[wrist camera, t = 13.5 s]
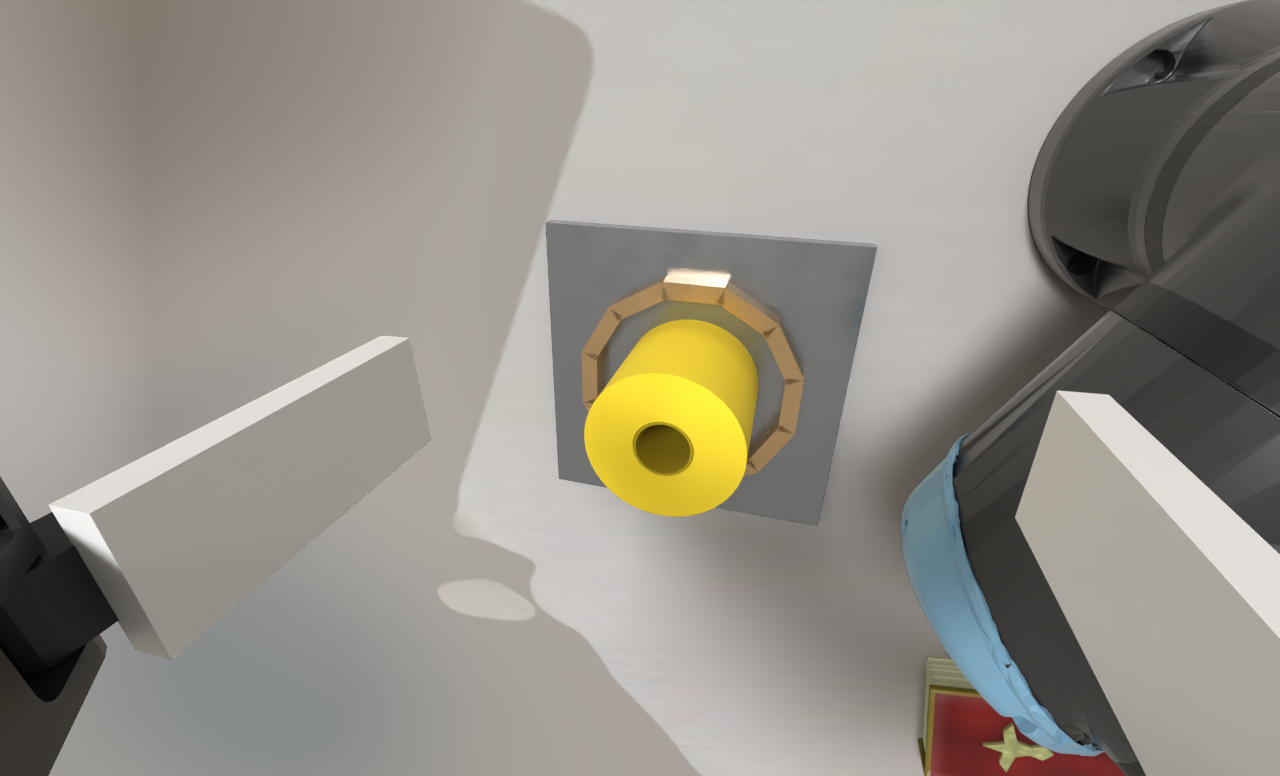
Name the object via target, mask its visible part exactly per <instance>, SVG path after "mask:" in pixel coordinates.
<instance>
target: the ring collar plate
mask: <svg viewBox="0 0 1280 776" xmlns="http://www.w3.org/2000/svg"><path fill="white" fill-rule="evenodd" d="M546 239H547V258H548V277H549V297H550V316H551V335H552V354H553V374H554V393H555V412H556V431H557V451H558V470H559V479H563V480H569V481H574V482H580V483H585V484H590V485H596V486H601V487H607V486H606V485H605V484H604V483H603V482H602V481H601V479H600V478H599V477H598V475H597V474H596V472H595V471H594V469H593V467H592V465H591V463H590V461H589V458H588V455H587V452H586V447H585V440H584V430H585V423H586V419H587V416H588V413H589V411H590V408H591V407H592V405H593V403H594V402H595V400H596V399H597V398H598V396H599V395H600V393H601V392H602V391H603V389H604V388H605V387H606V385H607V384H608V382H609V381H610V380H611V378H612V377H613V376H614V374H615V373H616V371H617V370H618V369H619V367H620V366H621V365H622V363H623V362H624V360H625V359H626V358H627V356H628V355H629V354H630V352H631V351H632V349H633V348H634V347H635V345H636V344H637V343H638V341H639V340H640V339H641V338H642V337H643V336H644V335H645V334H646V333H648V332H649V331H650V330H652V329H653V328H655V327H657V326H659V325H661V324H664V323H667V322H671V321H675V320H699V321H704V322H708V323H711V324H714V325H716V326H718V327H720V328H722V329H724V330H726V331H727V332H729V333H730V334H732V335H733V336H734V337H735V338H737V339H738V340H739V341H740V342H741V343H742V344H743V346H744V347H745V348H746V349H747V351H748V352H749V354H750V356H751V357H752V359H753V362H754V364H755V367H756V370H757V374H758V382H759V388H758V396H757V402H756V408H755V414H754V420H753V427H752V433H751V439H750V445H749V451H748V457H747V463H746V468H745V472H744V475H743V478H742V480H741V482H740V484H739V486H738V487H737V489H736V490H735V491H734V493H733V494H732V495H731V496H730V497H729V498H728V499H727V500H725V501H724V502H723V503H721V504H720V505H718V506H717V507H716V508H722V509H727V510H733V511H738V512H744V513H749V514H754V515H760V516H765V517H771V518H776V519H782V520H787V521H793V522H798V523H804V524H809V525H815V526H818V521H819V516H820V512H821V507H822V502H823V498H824V493H825V488H826V484H827V479H828V474H829V470H830V465H831V460H832V455H833V451H834V446H835V441H836V437H837V432H838V427H839V423H840V418H841V413H842V409H843V404H844V399H845V394H846V390H847V385H848V380H849V376H850V371H851V366H852V362H853V357H854V352H855V348H856V343H857V338H858V333H859V329H860V324H861V319H862V315H863V310H864V305H865V301H866V296H867V291H868V287H869V282H870V277H871V272H872V268H873V263H874V258H875V254H876V249H877V247H876V245H875V244H866V243H852V242H839V241H825V240H812V239H798V238H785V237H771V236H758V235H744V234H731V233H717V232H704V231H690V230H677V229H663V228H650V227H636V226H623V225H609V224H596V223H582V222H569V221H555V220H551V221H548V222H546ZM607 488H608V487H607Z"/></svg>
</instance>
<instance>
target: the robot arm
mask: <svg viewBox="0 0 1280 776" xmlns="http://www.w3.org/2000/svg"><path fill="white" fill-rule="evenodd" d="M1029 219H1030V226H1031V230H1032V234H1033V237H1034V240H1035V243H1036V246H1037V248H1038V250H1039V252H1040V254H1041V256H1042V257H1043V259H1044V261H1045V262H1046V263H1047V265H1048V266H1049V267H1050V269H1051V270H1052V271H1053V272H1054V273H1055V274H1056V275H1057V276H1058V277H1059V278H1060V279H1061V280H1062V281H1064V282H1065V283H1066V284H1067V285H1069V286H1070V287H1072V288H1073V289H1075V290H1076V291H1078V292H1079V293H1081V294H1083V295H1084V296H1086V297H1087V298H1089V299H1090V300H1092V301H1094V302H1096V303H1098V304H1100V305H1102V306H1105V307H1107V308H1109V309H1112V310H1113V311H1115V312H1116V313H1117V314H1116V313H1115V312H1113V311H1111V310H1110V311H1109V312H1108V313H1107V314H1105V315H1104V316H1103V317H1102V318H1101V319H1100V320H1099V321H1098V322H1096V323H1095V324H1094V325H1093V326H1092V327H1091V328H1090V329H1089V330H1087V331H1086V332H1085V333H1084V334H1083V335H1082V336H1081V337H1080V338H1078V339H1077V340H1076V341H1075V342H1074V343H1073V344H1072V345H1071V346H1070V347H1068V348H1067V349H1066V350H1065V351H1064V352H1063V353H1062V354H1061V355H1059V356H1058V357H1057V358H1056V359H1055V360H1054V361H1053V362H1052V363H1050V364H1049V365H1048V366H1047V367H1046V368H1045V369H1044V370H1043V371H1041V372H1040V373H1039V374H1038V375H1037V376H1036V377H1035V378H1034V379H1033V380H1031V381H1030V382H1029V383H1028V384H1027V385H1026V386H1025V387H1024V388H1022V389H1021V390H1020V391H1019V392H1018V393H1017V394H1016V395H1015V396H1013V397H1012V398H1011V399H1010V400H1009V401H1008V402H1007V403H1006V404H1004V405H1003V406H1002V407H1001V408H1000V409H999V410H998V411H997V412H996V413H994V414H993V415H992V416H991V417H990V418H989V419H988V420H987V421H985V422H984V423H983V424H982V425H981V426H980V427H979V428H978V429H976V430H975V431H974V432H973V433H967V434H965V435H963V436H962V437H960V438H959V439H958V440H957V441H956V442H955V443H954V444H953V445H952V447H951V449H950V451H949V453H948V455H947V457H946V458H945V459H944V460H943V461H942V462H941V463H940V464H939V465H938V466H937V467H936V468H935V469H934V470H933V471H932V472H931V473H930V474H929V475H928V476H927V477H926V478H925V479H924V480H923V481H922V482H921V483H920V484H919V485H918V486H917V487H916V488H915V489H914V490H913V492H912V493H911V494H910V496H909V498H908V500H907V502H906V504H905V506H904V509H903V513H902V521H901V532H902V536H903V540H902V552H903V557H904V561H905V565H906V569H907V572H908V575H909V578H910V581H911V584H912V587H913V589H914V592H915V594H916V596H917V599H918V601H919V603H920V605H921V608H922V610H923V611H924V613H925V615H926V617H927V619H928V621H929V623H930V625H931V626H932V628H933V630H934V632H935V633H936V635H937V637H938V638H939V640H940V642H941V643H942V645H943V647H944V648H945V650H946V651H947V653H948V654H949V656H950V657H951V659H952V660H953V661H954V663H955V664H956V665H957V667H958V668H959V670H960V671H961V672H962V674H963V675H964V676H965V677H966V679H967V680H968V681H969V682H970V684H971V685H972V686H973V687H974V688H975V690H976V691H977V692H978V693H979V694H980V695H981V696H982V697H983V699H984V700H985V701H986V702H987V703H988V704H989V705H990V706H991V707H992V708H993V709H994V710H995V711H996V712H997V713H999V714H1000V715H1001V716H1004V717H1012V718H1013V720H1014V722H1015V724H1016V726H1017V728H1018V729H1019V731H1020V732H1021V733H1022V734H1024V735H1025V736H1027V737H1028V738H1029V739H1031V740H1032V741H1034V742H1035V743H1037V744H1039V745H1041V746H1042V747H1044V748H1047V749H1049V750H1052V751H1054V752H1057V753H1062V754H1074V755H1076V754H1078V755H1081V756H1096V755H1098V754H1100V753H1102V752H1105V753H1106V754H1107V755H1108V756H1109V757H1110V758H1111V759H1112V760H1113V762H1114V763H1115V764H1116V765H1117V766H1118V768H1119V769H1120V770H1121V771H1122V772H1123V774H1124V775H1125V776H1280V419H1279V418H1280V0H1246V1H1242V2H1238V3H1234V4H1230V5H1226V6H1222V7H1218V8H1214V9H1210V10H1207V11H1204V12H1201V13H1198V14H1195V15H1192V16H1190V17H1187V18H1185V19H1182V20H1180V21H1177V22H1175V23H1173V24H1171V25H1169V26H1166V27H1165V28H1163V29H1161V30H1159V31H1157V32H1155V33H1153V34H1151V35H1150V36H1148V37H1146V38H1144V39H1143V40H1141V41H1139V42H1138V43H1136V44H1135V45H1133V46H1132V47H1130V48H1129V49H1127V50H1126V51H1124V52H1123V53H1122V54H1120V55H1119V56H1118V57H1116V58H1115V59H1114V60H1112V61H1111V62H1110V63H1109V64H1108V65H1106V66H1105V67H1104V68H1103V69H1102V70H1101V71H1099V72H1098V73H1097V74H1096V75H1095V76H1094V77H1093V78H1092V79H1091V80H1090V81H1089V82H1088V83H1087V84H1086V85H1085V86H1084V87H1083V88H1082V89H1081V90H1080V91H1079V93H1078V94H1077V95H1076V96H1075V97H1074V98H1073V99H1072V101H1071V102H1070V103H1069V105H1068V106H1067V107H1066V108H1065V110H1064V111H1063V113H1062V114H1061V115H1060V117H1059V118H1058V120H1057V121H1056V123H1055V125H1054V126H1053V128H1052V130H1051V131H1050V133H1049V135H1048V137H1047V139H1046V141H1045V143H1044V145H1043V147H1042V149H1041V152H1040V154H1039V157H1038V159H1037V162H1036V165H1035V168H1034V172H1033V176H1032V180H1031V185H1030V193H1029ZM1122 317H1123V318H1122ZM1124 318H1125V319H1126V320H1125V319H1124ZM1127 320H1128V321H1130V322H1132V323H1134V324H1135V325H1137V326H1138V327H1140V328H1141V329H1143V330H1144V331H1146V332H1148V333H1149V334H1151V335H1153V336H1154V337H1155V338H1157V339H1158V340H1160V341H1161V342H1163V343H1164V344H1166V345H1168V346H1169V347H1171V348H1172V349H1174V350H1176V351H1177V352H1179V353H1180V354H1182V355H1183V356H1185V357H1186V358H1188V359H1189V360H1191V361H1192V362H1194V363H1196V364H1197V365H1199V366H1200V367H1202V368H1204V369H1205V370H1207V371H1208V372H1210V373H1211V374H1213V375H1214V376H1216V377H1217V378H1219V379H1220V380H1222V381H1223V382H1225V383H1226V384H1228V385H1230V386H1231V387H1233V388H1234V389H1236V390H1237V391H1239V392H1240V393H1242V394H1244V395H1245V396H1247V397H1248V398H1250V399H1252V400H1253V401H1255V402H1256V403H1258V404H1259V405H1261V406H1262V407H1264V408H1265V409H1267V410H1268V411H1270V412H1271V413H1273V414H1275V415H1276V416H1278V417H1279V418H1277V417H1276V416H1274V415H1273V414H1271V413H1270V412H1268V411H1266V410H1265V409H1263V408H1262V407H1260V406H1259V405H1257V404H1256V403H1254V402H1253V401H1251V400H1249V399H1248V398H1246V397H1245V396H1243V395H1242V394H1240V393H1239V392H1237V391H1235V390H1234V389H1232V388H1231V387H1229V386H1228V385H1226V384H1225V383H1223V382H1222V381H1220V380H1218V379H1217V378H1215V377H1214V376H1212V375H1211V374H1209V373H1208V372H1206V371H1204V370H1203V369H1201V368H1200V367H1198V366H1197V365H1195V364H1194V363H1192V362H1191V361H1189V360H1187V359H1186V358H1184V357H1183V356H1181V355H1180V354H1178V353H1177V352H1175V351H1173V350H1172V349H1170V348H1169V347H1167V346H1166V345H1164V344H1163V343H1161V342H1160V341H1158V340H1156V339H1155V338H1153V337H1152V336H1150V335H1149V334H1147V333H1146V332H1144V331H1142V330H1141V329H1139V328H1138V327H1136V326H1135V325H1133V324H1132V323H1130V322H1128V321H1127ZM430 440H431V435H430V431H429V426H428V421H427V417H426V412H425V408H424V403H423V399H422V395H421V390H420V385H419V380H418V376H417V372H416V367H415V362H414V358H413V353H412V348H411V344H410V340H409V338H403V337H391V336H380V337H378V338H376V339H374V340H372V341H370V342H368V343H366V344H364V345H362V346H360V347H358V348H357V349H354V350H352V351H351V352H349V353H347V354H345V355H343V356H341V357H339V358H337V359H335V360H333V361H331V362H329V363H327V364H325V365H323V366H321V367H319V368H317V369H315V370H313V371H311V372H309V373H307V374H305V375H303V376H301V377H299V378H298V379H295V380H293V381H291V382H289V383H287V384H285V385H284V386H282V387H280V388H278V389H276V390H274V391H272V392H270V393H268V394H266V395H264V396H262V397H260V398H258V399H256V400H254V401H252V402H250V403H248V404H246V405H244V406H242V407H241V408H238V409H236V410H234V411H233V412H230V413H228V414H226V415H225V416H223V417H221V418H219V419H217V420H215V421H213V422H211V423H209V424H207V425H205V426H203V427H201V428H199V429H197V430H195V431H193V432H191V433H189V434H187V435H185V436H183V437H181V438H179V439H177V440H175V441H173V442H171V443H169V444H167V445H166V446H164V447H162V448H160V449H158V450H156V451H154V452H152V453H150V454H148V455H146V456H144V457H142V458H140V459H138V460H136V461H134V462H132V463H130V464H128V465H126V466H124V467H122V468H120V469H118V470H116V471H114V472H112V473H110V474H109V475H107V476H104V477H103V478H101V479H99V480H97V481H95V482H93V483H91V484H89V485H87V486H85V487H83V488H81V489H79V490H77V491H75V492H73V493H71V494H69V495H67V496H65V497H63V498H61V499H59V500H58V501H55V502H54V503H52V504H49V507H50V508H51V510H52V512H51V513H49V514H47V515H46V516H44V517H42V518H40V519H37V520H35V521H33V522H31V523H29V521H28V520H27V518H26V517H25V515H24V514H23V512H22V510H21V509H20V507H19V506H18V504H17V502H16V501H15V499H14V498H13V496H12V495H11V493H10V491H9V490H8V488H7V486H6V485H5V483H4V482H3V480H2V479H1V477H0V776H48V775H49V773H50V771H51V769H52V767H53V765H54V762H55V761H56V758H57V756H58V754H59V752H60V750H61V748H62V746H63V744H64V742H65V740H66V738H67V736H68V733H69V731H70V729H71V727H72V725H73V723H74V721H75V719H76V717H77V714H78V713H79V711H80V708H81V706H82V704H83V702H84V700H85V698H86V696H87V694H88V692H89V690H90V687H91V685H92V683H93V681H94V679H95V677H96V675H97V673H98V671H99V669H100V666H101V665H102V663H103V660H104V658H105V655H106V649H107V646H106V644H105V642H104V641H103V639H102V638H101V636H100V633H102V632H103V631H104V630H106V629H107V628H108V627H110V626H111V625H112V624H114V623H115V622H117V621H118V622H119V624H120V625H121V627H122V629H123V630H124V632H125V634H126V635H127V637H128V639H129V640H130V642H131V644H132V645H133V647H134V649H136V650H139V651H143V652H146V653H149V654H153V655H157V656H160V657H164V658H167V659H171V660H172V659H174V658H175V657H176V656H177V655H178V654H180V653H181V652H182V651H183V650H184V649H185V648H187V647H188V646H189V645H190V644H191V643H192V642H194V641H195V640H196V639H197V638H198V637H199V636H201V635H202V634H203V633H204V632H205V631H207V630H208V629H209V628H210V627H211V626H212V625H214V624H215V623H216V622H217V621H218V620H219V619H221V618H222V617H223V616H224V615H225V614H227V613H228V612H229V611H230V610H231V609H232V608H234V607H235V606H236V605H237V604H238V603H240V602H241V601H242V600H243V599H244V598H245V597H247V596H248V595H249V594H250V593H251V592H253V591H254V590H255V589H256V588H257V587H258V586H260V585H261V584H262V583H263V582H264V581H266V580H267V579H268V578H269V577H270V576H271V575H273V574H274V573H275V572H276V571H277V570H278V569H280V568H281V567H282V566H283V565H284V564H285V563H287V562H288V561H289V560H290V559H291V558H293V557H294V556H295V555H296V554H297V553H298V552H299V551H301V550H302V549H303V548H304V547H306V546H307V545H308V544H309V543H310V542H311V541H313V540H314V539H315V538H316V537H317V536H319V534H321V533H322V532H323V531H324V530H325V529H327V528H328V527H329V526H330V525H332V524H333V523H334V522H335V521H336V520H337V519H339V518H340V517H341V516H342V515H343V514H344V513H345V512H347V511H348V510H349V509H350V508H351V507H353V506H354V505H355V504H356V503H357V502H358V501H360V500H361V499H362V498H363V497H364V496H366V495H367V494H368V493H369V492H370V491H372V490H373V489H374V488H375V487H376V486H377V485H379V484H380V483H381V482H382V481H383V480H384V479H386V478H387V477H388V476H389V475H390V474H391V473H393V472H394V471H395V470H396V469H397V468H399V467H400V466H401V465H402V464H403V463H405V462H406V461H407V460H408V459H409V458H410V457H412V455H414V454H415V453H416V452H417V451H419V450H420V449H421V448H422V447H423V446H425V445H426V444H427V443H428V442H429V441H430Z"/></svg>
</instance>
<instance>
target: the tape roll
mask: <svg viewBox="0 0 1280 776" xmlns="http://www.w3.org/2000/svg"><path fill="white" fill-rule="evenodd" d="M758 388H759V382H758V374H757V370H756V367H755V364H754V362H753V359H752V357H751V356H750V354H749V352H748V351H747V349H746V348H745V347H744V346H743V344H742V343H741V342H740V341H739V340H738V339H737V338H735V337H734V336H733V335H732V334H730V333H729V332H727V331H726V330H724V329H722V328H720V327H718V326H716V325H714V324H711V323H708V322H704V321H699V320H675V321H671V322H667V323H664V324H661V325H659V326H657V327H655V328H653V329H652V330H650V331H649V332H648V333H646V334H645V335H644V336H643V337H642V338H641V339H640V340H639V341H638V343H637V344H636V345H635V347H634V348H633V349H632V351H631V352H630V354H629V355H628V356H627V358H626V359H625V360H624V362H623V363H622V365H621V366H620V367H619V369H618V370H617V371H616V373H615V374H614V376H613V377H612V378H611V380H610V381H609V382H608V384H607V385H606V387H605V388H604V389H603V391H602V392H601V393H600V395H599V396H598V398H597V399H596V400H595V402H594V403H593V405H592V407H591V408H590V411H589V413H588V416H587V419H586V423H585V430H584V440H585V447H586V452H587V455H588V458H589V461H590V463H591V465H592V467H593V469H594V471H595V472H596V474H597V475H598V477H599V478H600V479H601V481H602V482H603V483H604V484H605V485H606V486H607V487H608V488H609V489H610V490H611V491H612V492H613V493H614V494H615V495H617V496H618V497H619V498H621V499H622V500H624V501H625V502H627V503H629V504H630V505H632V506H634V507H636V508H639V509H641V510H644V511H646V512H649V513H653V514H657V515H663V516H672V517H682V516H691V515H696V514H700V513H703V512H706V511H709V510H711V509H713V508H715V507H717V506H718V505H720V504H721V503H723V502H724V501H725V500H727V499H728V498H729V497H730V496H731V495H732V494H733V493H734V491H735V490H736V489H737V487H738V486H739V484H740V482H741V480H742V478H743V475H744V472H745V468H746V463H747V457H748V451H749V445H750V439H751V433H752V427H753V420H754V414H755V408H756V402H757V396H758Z"/></svg>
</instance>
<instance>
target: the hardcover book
mask: <svg viewBox="0 0 1280 776" xmlns="http://www.w3.org/2000/svg"><path fill="white" fill-rule="evenodd" d="M918 744H919V750H920V756H921V761H922V767H923V771H924V775H925V776H1125V775H1124V774H1123V772H1122V771H1121V770H1120V769H1119V768H1118V766H1117V765H1116V764H1115V763H1114V762H1113V760H1112V759H1111V758H1110V757H1109V756H1108V755H1107V754H1106V753H1105V752H1102V753H1100V754H1098V755H1096V756H1081V755H1078V754H1076V755H1074V754H1062V753H1057V752H1054V751H1052V750H1049V749H1047V748H1044V747H1042V746H1041V745H1039V744H1037V743H1035V742H1034V741H1032V740H1031V739H1029V738H1028V737H1027V736H1025V735H1024V734H1022V733H1021V732H1020V731H1019V729H1018V728H1017V726H1016V724H1015V722H1014V720H1013V718H1012V717H1004V716H1001V715H1000V714H999V713H997V712H996V711H995V710H994V709H993V708H992V707H991V706H990V705H989V704H988V703H987V702H986V701H985V700H984V699H983V697H982V696H981V695H980V694H979V693H978V692H977V691H976V690H975V688H974V687H973V686H972V685H971V684H970V682H969V681H968V680H967V679H966V677H965V676H964V675H963V674H962V672H961V671H960V670H959V668H958V667H957V665H956V664H955V663H954V661H953V660H952V659H950V658H939V657H928V656H927V667H926V686H925V706H924V725H923V739H919V738H918Z"/></svg>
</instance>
